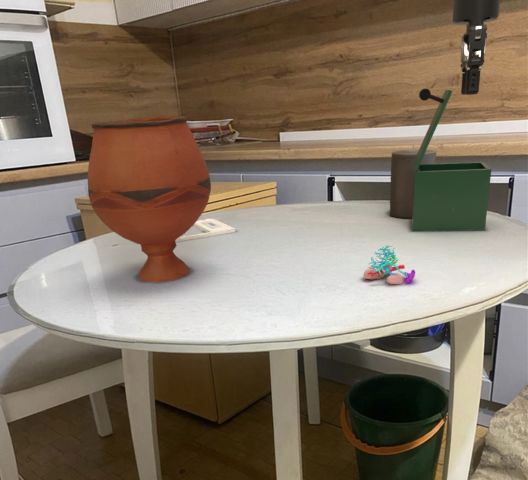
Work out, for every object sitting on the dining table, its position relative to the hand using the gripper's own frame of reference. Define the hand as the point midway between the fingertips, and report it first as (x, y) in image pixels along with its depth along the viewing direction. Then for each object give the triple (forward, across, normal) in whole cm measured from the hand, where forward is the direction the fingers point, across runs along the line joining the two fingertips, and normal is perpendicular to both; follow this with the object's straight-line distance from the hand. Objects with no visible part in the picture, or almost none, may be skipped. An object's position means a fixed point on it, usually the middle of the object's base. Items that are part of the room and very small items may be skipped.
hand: (469, 94), depth 98 cm
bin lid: (+6, +1, +6) cm, 8 cm away
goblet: (+24, -34, +50) cm, 65 cm away
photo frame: (+24, -3, +58) cm, 63 cm away
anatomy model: (+25, -36, +13) cm, 45 cm away
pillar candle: (+25, +14, +9) cm, 30 cm away
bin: (+24, +1, +2) cm, 25 cm away
